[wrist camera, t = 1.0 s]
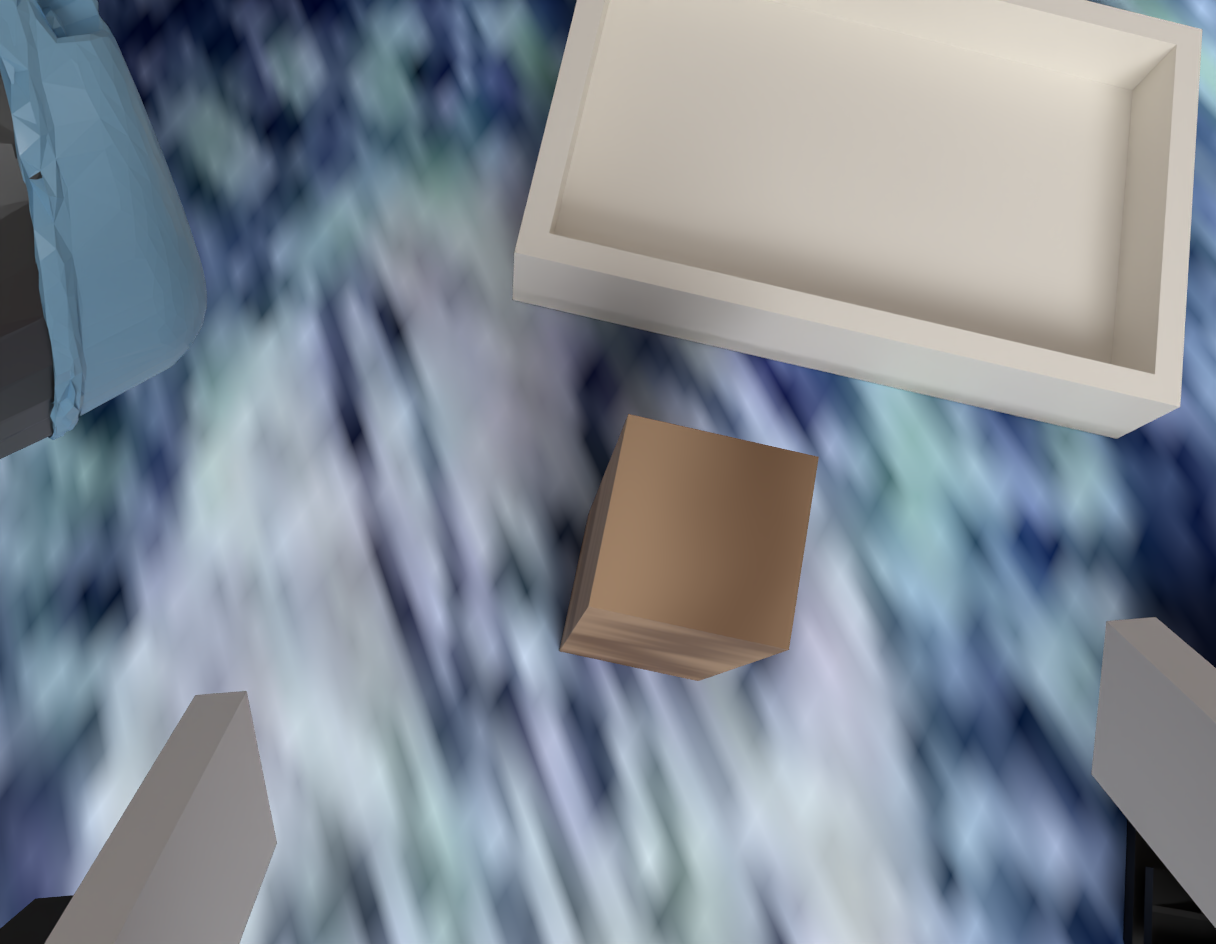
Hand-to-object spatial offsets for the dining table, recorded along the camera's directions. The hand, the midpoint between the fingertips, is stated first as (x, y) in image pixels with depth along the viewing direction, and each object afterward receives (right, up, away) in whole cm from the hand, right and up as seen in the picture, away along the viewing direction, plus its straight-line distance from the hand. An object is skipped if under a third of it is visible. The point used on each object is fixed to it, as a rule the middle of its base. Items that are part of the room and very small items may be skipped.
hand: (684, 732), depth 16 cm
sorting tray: (+8, +15, +27) cm, 32 cm away
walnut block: (0, 0, +22) cm, 22 cm away
